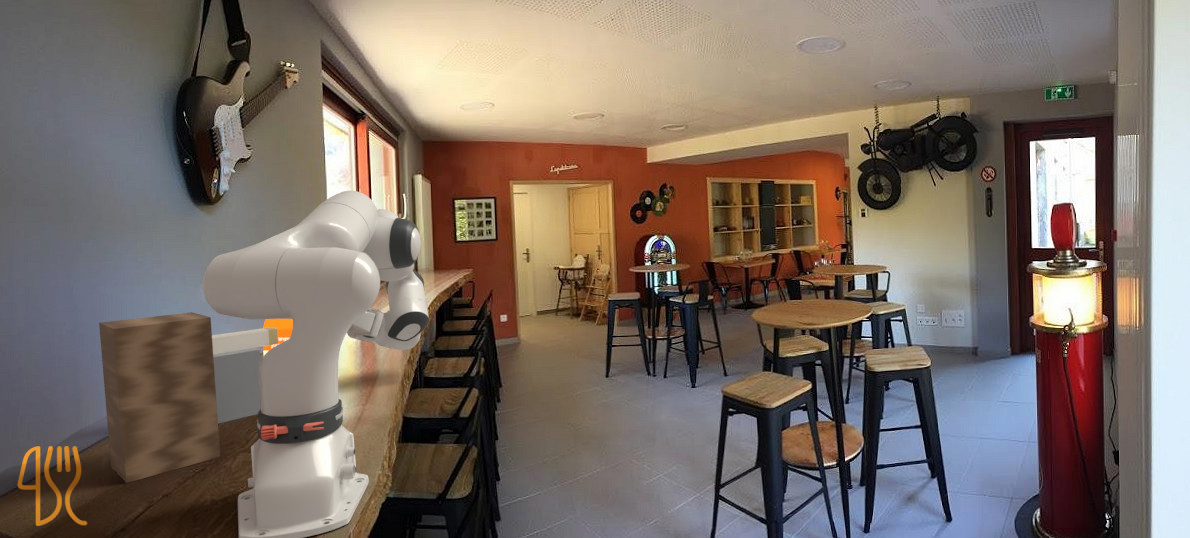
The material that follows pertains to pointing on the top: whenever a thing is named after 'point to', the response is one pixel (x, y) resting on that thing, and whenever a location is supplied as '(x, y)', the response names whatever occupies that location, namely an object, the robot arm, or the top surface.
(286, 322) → the orange juice
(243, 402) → the grey block
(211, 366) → the walnut post
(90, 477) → the top surface
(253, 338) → the cream tan bar
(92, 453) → the top surface
